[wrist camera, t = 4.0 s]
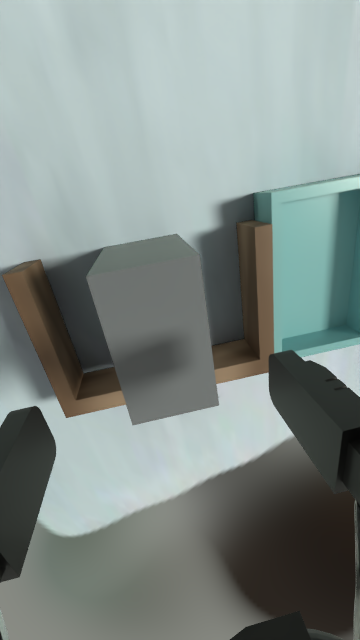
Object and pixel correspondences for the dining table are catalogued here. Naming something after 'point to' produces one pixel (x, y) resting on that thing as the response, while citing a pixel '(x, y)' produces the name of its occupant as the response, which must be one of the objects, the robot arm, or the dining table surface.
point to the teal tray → (314, 263)
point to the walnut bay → (103, 385)
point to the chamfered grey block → (156, 326)
